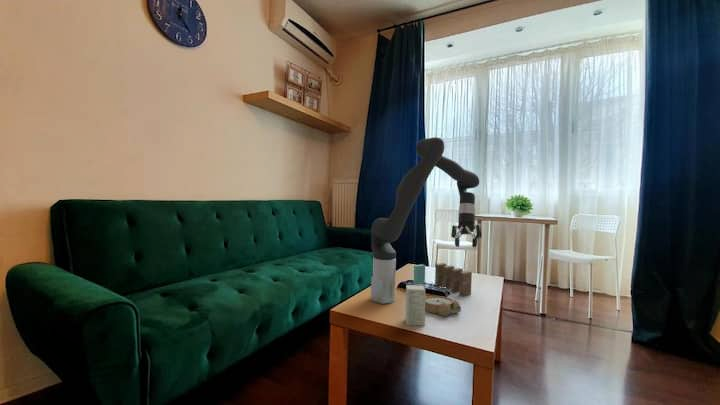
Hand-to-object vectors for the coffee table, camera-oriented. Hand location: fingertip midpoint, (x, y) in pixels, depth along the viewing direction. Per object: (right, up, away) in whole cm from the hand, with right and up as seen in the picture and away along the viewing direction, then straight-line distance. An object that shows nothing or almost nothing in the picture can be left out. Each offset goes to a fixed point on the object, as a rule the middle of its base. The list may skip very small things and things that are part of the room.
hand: (465, 246), depth 135 cm
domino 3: (-7, -19, -7) cm, 21 cm away
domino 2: (-9, -19, -3) cm, 21 cm away
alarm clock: (-20, -20, -29) cm, 40 cm away
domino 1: (-12, -18, +2) cm, 22 cm away
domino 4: (-4, -19, -11) cm, 23 cm away
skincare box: (-32, -20, -39) cm, 54 cm away
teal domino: (-23, -18, -2) cm, 29 cm away
